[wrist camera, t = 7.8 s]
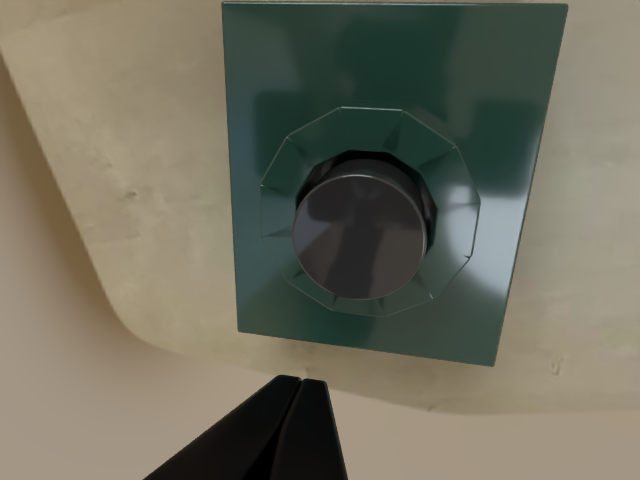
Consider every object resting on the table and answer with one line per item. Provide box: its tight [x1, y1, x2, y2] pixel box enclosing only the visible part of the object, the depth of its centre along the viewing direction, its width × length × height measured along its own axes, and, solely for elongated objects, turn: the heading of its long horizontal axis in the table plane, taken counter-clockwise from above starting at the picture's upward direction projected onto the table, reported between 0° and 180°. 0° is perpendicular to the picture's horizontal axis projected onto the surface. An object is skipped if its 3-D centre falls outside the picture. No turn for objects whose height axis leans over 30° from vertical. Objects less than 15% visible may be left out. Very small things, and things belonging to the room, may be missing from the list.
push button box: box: [222, 1, 568, 367], centre depth 16 cm, size 12×10×6 cm
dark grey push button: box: [292, 158, 427, 300], centre depth 13 cm, size 4×4×2 cm
